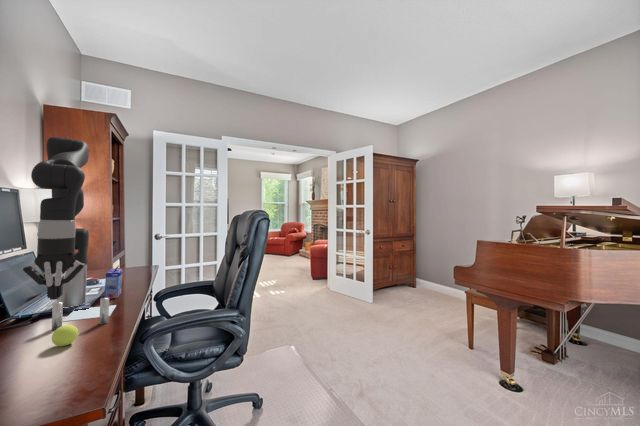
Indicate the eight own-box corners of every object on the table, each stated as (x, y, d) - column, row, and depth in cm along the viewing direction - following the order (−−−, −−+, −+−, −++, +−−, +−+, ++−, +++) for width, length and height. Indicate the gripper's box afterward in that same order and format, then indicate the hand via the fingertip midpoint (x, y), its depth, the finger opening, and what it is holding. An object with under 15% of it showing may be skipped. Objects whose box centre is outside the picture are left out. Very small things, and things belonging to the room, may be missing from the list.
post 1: (53, 327, 96) (54, 302, 96) (63, 326, 97) (64, 301, 97) (50, 330, 93) (51, 304, 93) (60, 329, 95) (61, 303, 95)
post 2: (100, 322, 102) (101, 297, 102) (109, 321, 103) (110, 297, 103) (98, 324, 99) (99, 299, 99) (107, 323, 101) (108, 299, 101)
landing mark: (75, 309, 114) (75, 309, 114) (116, 305, 120) (116, 304, 120) (62, 321, 101) (62, 321, 101) (109, 316, 108) (109, 315, 108)
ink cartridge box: (118, 298, 130) (119, 267, 130) (103, 299, 128) (105, 268, 128) (122, 292, 139) (123, 264, 139) (108, 293, 136) (109, 264, 136)
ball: (55, 342, 85) (56, 323, 85) (80, 339, 88) (81, 320, 88) (47, 351, 80) (48, 330, 80) (74, 347, 83) (75, 327, 83)
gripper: (91, 235, 82) (89, 292, 82) (30, 235, 76) (28, 297, 76) (83, 237, 76) (81, 300, 75) (16, 237, 69) (14, 306, 69)
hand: (54, 298), depth 76 cm, fingers closed
